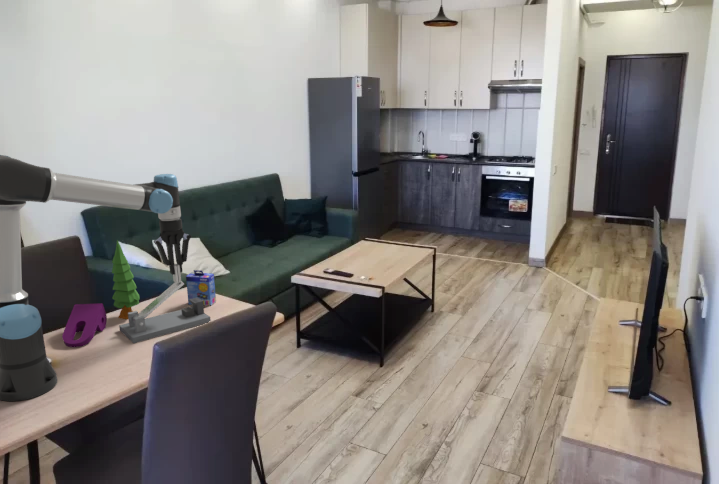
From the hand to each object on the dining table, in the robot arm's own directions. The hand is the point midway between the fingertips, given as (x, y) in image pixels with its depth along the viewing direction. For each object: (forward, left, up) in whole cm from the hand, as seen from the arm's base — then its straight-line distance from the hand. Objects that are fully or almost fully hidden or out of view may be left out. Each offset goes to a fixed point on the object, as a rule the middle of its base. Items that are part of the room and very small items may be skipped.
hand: (177, 281), depth 196 cm
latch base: (-6, 0, -16) cm, 17 cm away
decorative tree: (-13, +18, -16) cm, 27 cm away
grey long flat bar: (-7, 0, -7) cm, 10 cm away
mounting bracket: (-31, +10, -16) cm, 36 cm away
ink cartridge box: (+14, +13, -16) cm, 25 cm away
